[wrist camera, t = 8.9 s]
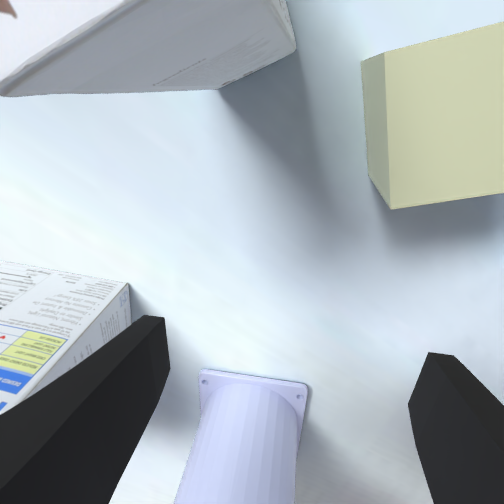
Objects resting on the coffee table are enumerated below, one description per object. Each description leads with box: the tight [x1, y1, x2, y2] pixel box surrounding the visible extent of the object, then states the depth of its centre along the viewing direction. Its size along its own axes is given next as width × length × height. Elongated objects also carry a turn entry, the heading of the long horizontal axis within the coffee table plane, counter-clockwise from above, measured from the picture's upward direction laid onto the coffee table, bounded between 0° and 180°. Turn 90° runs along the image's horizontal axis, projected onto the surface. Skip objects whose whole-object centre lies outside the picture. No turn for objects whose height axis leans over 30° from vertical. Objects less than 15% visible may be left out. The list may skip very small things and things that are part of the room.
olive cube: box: [361, 22, 504, 210], centre depth 12 cm, size 5×5×5 cm
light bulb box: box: [0, 261, 132, 415], centre depth 19 cm, size 11×7×11 cm, turn 84°
